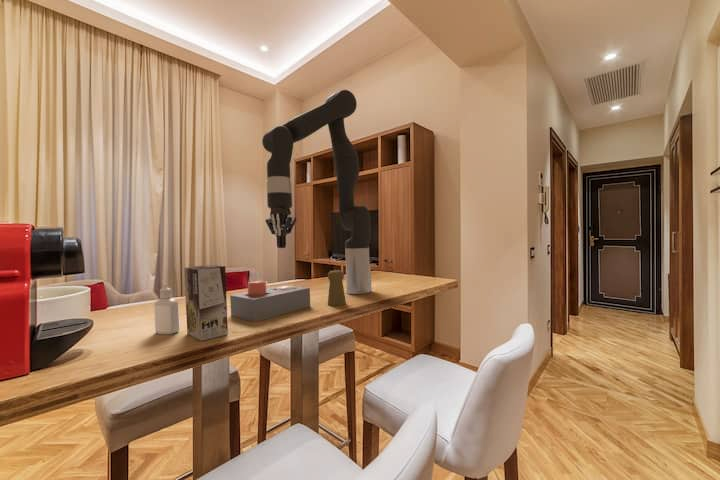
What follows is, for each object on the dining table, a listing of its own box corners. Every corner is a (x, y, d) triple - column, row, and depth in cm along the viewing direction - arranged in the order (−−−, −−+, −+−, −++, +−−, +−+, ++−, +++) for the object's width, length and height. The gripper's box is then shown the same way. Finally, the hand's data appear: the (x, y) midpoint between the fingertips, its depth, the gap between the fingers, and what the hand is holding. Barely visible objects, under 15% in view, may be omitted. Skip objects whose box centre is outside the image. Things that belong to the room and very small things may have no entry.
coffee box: (229, 334, 72) (226, 266, 71) (200, 342, 67) (197, 268, 67) (213, 327, 78) (211, 264, 78) (186, 333, 73) (183, 266, 73)
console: (286, 302, 104) (285, 284, 104) (310, 306, 97) (309, 287, 97) (231, 315, 89) (230, 295, 89) (254, 322, 81) (253, 299, 81)
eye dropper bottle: (159, 337, 71) (157, 286, 71) (154, 332, 75) (152, 283, 75) (180, 332, 74) (178, 283, 74) (174, 328, 78) (172, 281, 78)
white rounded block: (286, 303, 100) (286, 285, 100) (297, 305, 97) (296, 286, 97) (274, 306, 96) (273, 287, 96) (284, 308, 93) (283, 289, 93)
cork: (347, 301, 102) (346, 269, 102) (344, 306, 96) (343, 271, 96) (329, 302, 103) (328, 269, 103) (325, 306, 97) (324, 271, 97)
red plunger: (260, 300, 92) (259, 280, 92) (270, 302, 89) (269, 281, 89) (245, 303, 88) (244, 282, 88) (254, 305, 85) (254, 284, 85)
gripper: (302, 191, 94) (304, 247, 95) (276, 195, 103) (278, 247, 103) (283, 189, 89) (285, 248, 89) (256, 194, 97) (258, 248, 97)
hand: (281, 247), depth 96 cm, fingers closed
